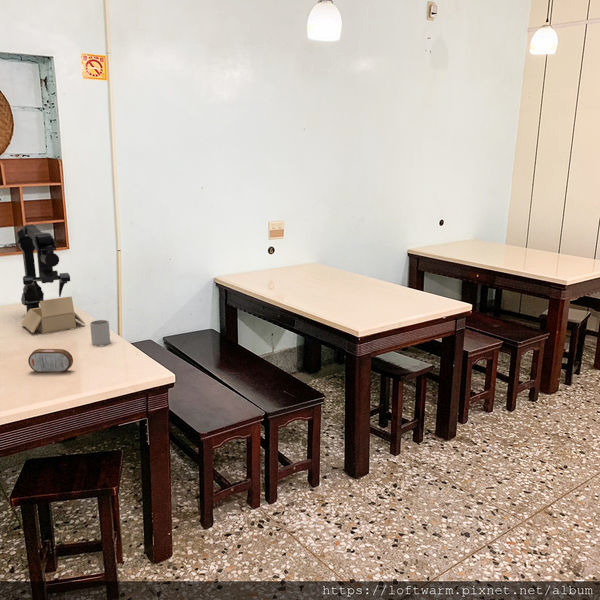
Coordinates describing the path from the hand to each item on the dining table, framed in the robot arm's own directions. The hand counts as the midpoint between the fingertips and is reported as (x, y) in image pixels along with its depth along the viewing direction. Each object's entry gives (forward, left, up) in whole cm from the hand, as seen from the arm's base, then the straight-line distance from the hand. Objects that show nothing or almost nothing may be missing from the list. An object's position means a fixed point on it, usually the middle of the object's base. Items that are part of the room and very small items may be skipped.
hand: (48, 297), depth 261 cm
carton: (-5, +2, -14) cm, 15 cm away
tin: (+54, -16, -14) cm, 58 cm away
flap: (+6, +2, -3) cm, 7 cm away
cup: (+32, +10, -14) cm, 36 cm away
